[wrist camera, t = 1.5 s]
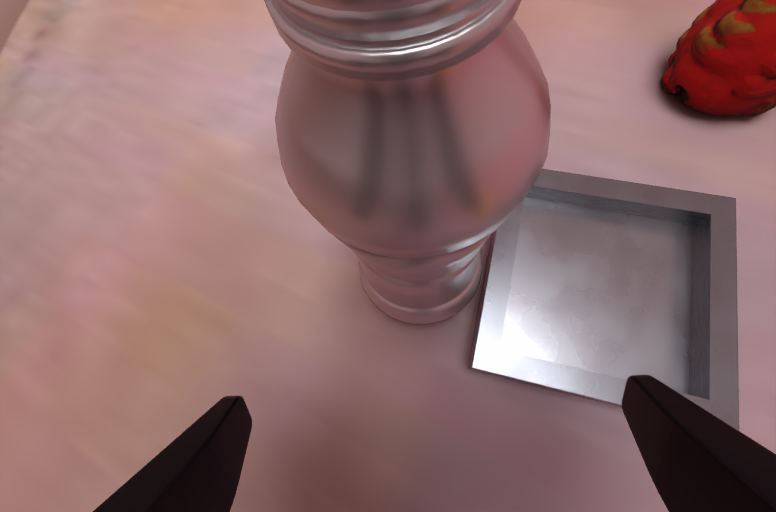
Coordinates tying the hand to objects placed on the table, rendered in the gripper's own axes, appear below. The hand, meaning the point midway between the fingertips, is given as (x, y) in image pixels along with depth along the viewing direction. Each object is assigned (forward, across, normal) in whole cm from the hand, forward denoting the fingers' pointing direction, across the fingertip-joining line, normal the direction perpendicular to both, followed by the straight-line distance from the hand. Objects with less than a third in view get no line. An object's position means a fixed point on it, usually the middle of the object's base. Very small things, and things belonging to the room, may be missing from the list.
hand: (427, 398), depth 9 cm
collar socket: (+12, -10, +6) cm, 17 cm away
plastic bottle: (+14, 0, +5) cm, 15 cm away
